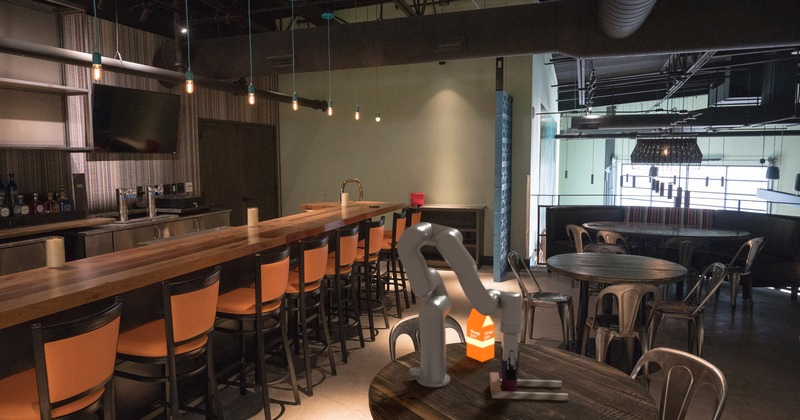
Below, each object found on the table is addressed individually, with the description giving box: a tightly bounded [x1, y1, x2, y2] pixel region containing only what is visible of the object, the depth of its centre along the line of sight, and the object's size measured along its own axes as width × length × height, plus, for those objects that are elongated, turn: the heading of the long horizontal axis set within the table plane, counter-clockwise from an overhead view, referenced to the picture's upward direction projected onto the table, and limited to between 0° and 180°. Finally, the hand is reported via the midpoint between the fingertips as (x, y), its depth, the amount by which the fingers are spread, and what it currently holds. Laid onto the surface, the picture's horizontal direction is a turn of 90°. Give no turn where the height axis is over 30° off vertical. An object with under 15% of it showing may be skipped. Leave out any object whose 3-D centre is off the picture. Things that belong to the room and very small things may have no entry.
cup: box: [500, 346, 521, 392], centre depth 185 cm, size 7×7×15 cm
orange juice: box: [466, 308, 495, 363], centre depth 217 cm, size 8×9×20 cm
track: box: [489, 371, 569, 401], centre depth 185 cm, size 26×11×5 cm, turn 84°
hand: (509, 375), depth 185 cm, fingers closed on cup, 6 cm apart
